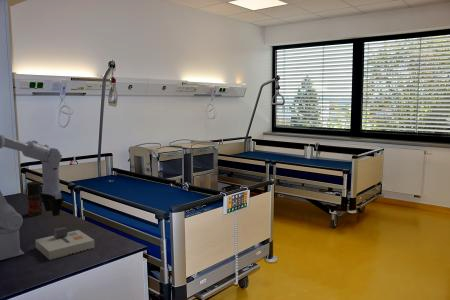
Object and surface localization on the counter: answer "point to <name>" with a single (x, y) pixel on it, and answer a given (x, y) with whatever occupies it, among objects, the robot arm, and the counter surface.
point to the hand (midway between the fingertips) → (52, 213)
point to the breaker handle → (60, 232)
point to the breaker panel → (64, 244)
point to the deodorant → (34, 198)
